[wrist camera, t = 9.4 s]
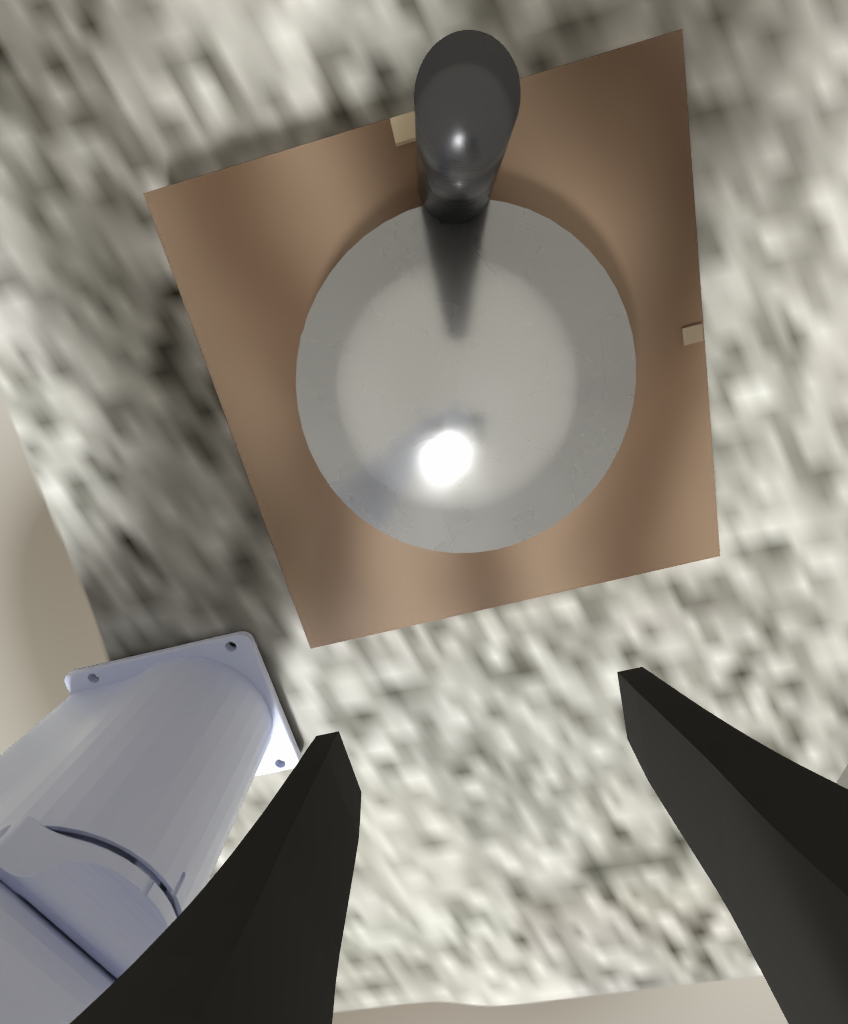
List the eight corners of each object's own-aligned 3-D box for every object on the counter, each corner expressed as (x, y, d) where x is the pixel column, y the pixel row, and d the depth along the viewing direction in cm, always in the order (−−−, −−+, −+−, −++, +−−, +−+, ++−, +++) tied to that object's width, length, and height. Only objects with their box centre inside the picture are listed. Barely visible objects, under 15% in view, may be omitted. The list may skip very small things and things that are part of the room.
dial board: (318, 630, 21) (309, 650, 19) (169, 211, 16) (139, 190, 14) (698, 543, 19) (723, 557, 18) (656, 64, 15) (685, 23, 13)
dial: (616, 533, 18) (687, 585, 13) (326, 554, 18) (291, 613, 13) (634, 124, 14) (744, -15, 9) (268, 158, 14) (190, 39, 9)
